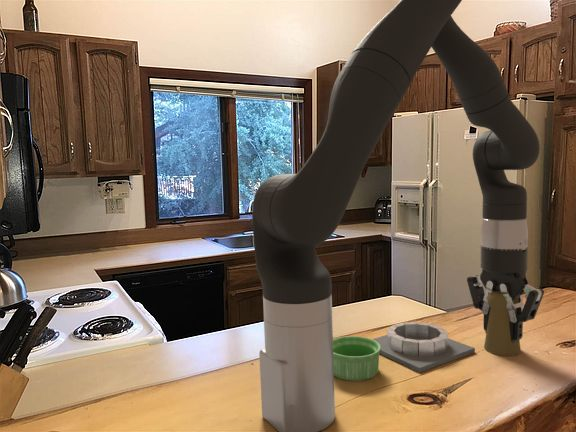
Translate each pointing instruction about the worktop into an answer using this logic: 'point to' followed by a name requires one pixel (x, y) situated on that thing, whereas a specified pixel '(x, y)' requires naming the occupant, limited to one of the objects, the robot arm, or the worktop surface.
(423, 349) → the ring collar
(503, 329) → the cork
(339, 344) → the ramekin
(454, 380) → the worktop surface
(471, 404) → the worktop surface
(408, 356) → the fitting mat
